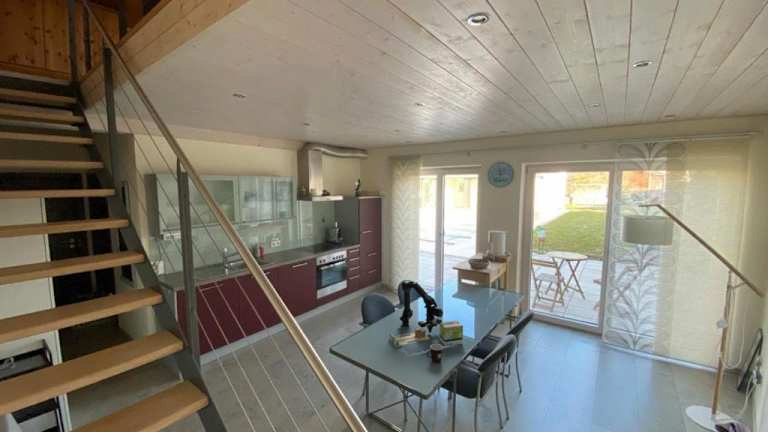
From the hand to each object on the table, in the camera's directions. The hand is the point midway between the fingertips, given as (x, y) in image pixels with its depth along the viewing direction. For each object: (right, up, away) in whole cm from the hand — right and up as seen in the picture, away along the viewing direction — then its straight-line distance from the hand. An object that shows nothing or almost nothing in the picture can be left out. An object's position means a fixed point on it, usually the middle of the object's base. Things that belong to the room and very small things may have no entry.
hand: (429, 332), depth 258 cm
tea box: (+15, -4, -11) cm, 18 cm away
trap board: (-16, -3, -6) cm, 18 cm away
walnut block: (-8, -1, -3) cm, 9 cm away
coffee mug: (-2, -7, -36) cm, 36 cm away
